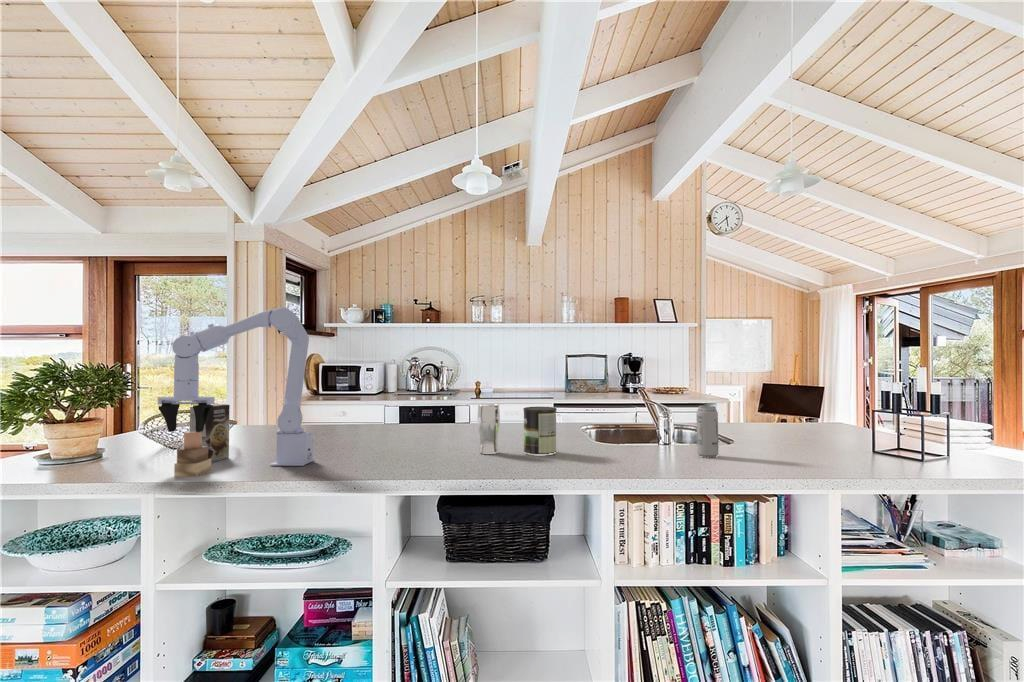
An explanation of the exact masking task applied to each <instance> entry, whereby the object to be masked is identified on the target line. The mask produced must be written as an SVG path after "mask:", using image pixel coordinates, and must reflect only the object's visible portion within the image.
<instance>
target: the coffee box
mask: <svg viewBox="0 0 1024 682" xmlns="http://www.w3.org/2000/svg"><path fill="white" fill-rule="evenodd" d="M212 405H213V408H212V409H211V411H210V413H209V415H208V417H207V419H206V422H205V425H204V429H203V431H201V432H202V446H208V459H211V463H214V462H218V461H222V460H226V459H229V457H230V407H231V406H230V404H212ZM189 432H196V419H195V413H194V409H193V406H190V407H189ZM225 458H226V459H225ZM221 459H222V460H221ZM217 460H218V461H217Z"/></svg>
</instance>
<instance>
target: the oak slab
mask: <svg viewBox="0 0 1024 682" xmlns="http://www.w3.org/2000/svg"><path fill="white" fill-rule="evenodd" d="M173 466H174V473H173V474H174V477H199V476H203V475H205V474H208V473H210V471H211V472H212V462H211V459H208V460H205V461H202V462H198V463H177V462H175V463H174V465H173ZM207 472H208V473H207Z"/></svg>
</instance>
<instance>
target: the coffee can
mask: <svg viewBox="0 0 1024 682" xmlns="http://www.w3.org/2000/svg"><path fill="white" fill-rule="evenodd" d="M522 409H523V453H524V452H526V453H530V454H549V453H554V452H556V453H557V408H556V407H554V406H527V407H524V408H522Z"/></svg>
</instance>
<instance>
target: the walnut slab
mask: <svg viewBox="0 0 1024 682" xmlns="http://www.w3.org/2000/svg"><path fill="white" fill-rule="evenodd" d="M205 460H208V446H202V448H198V449H184V447H181V448H177V450H176V463H198V462H202V461H205Z"/></svg>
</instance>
